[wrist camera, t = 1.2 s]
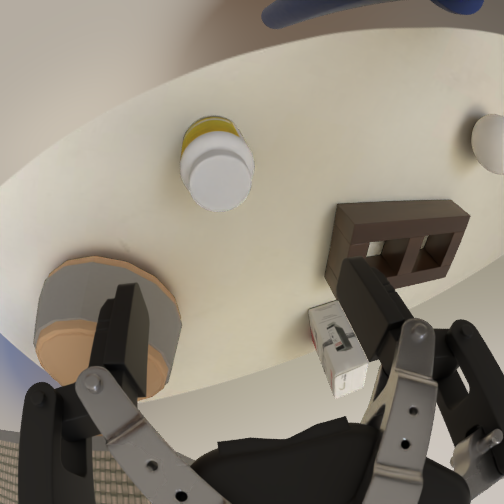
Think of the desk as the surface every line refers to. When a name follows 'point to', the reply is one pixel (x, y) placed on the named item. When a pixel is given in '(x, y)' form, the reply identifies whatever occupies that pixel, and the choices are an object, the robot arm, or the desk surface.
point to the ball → (489, 142)
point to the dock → (398, 238)
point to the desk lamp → (79, 350)
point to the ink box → (338, 349)
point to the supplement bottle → (216, 164)
